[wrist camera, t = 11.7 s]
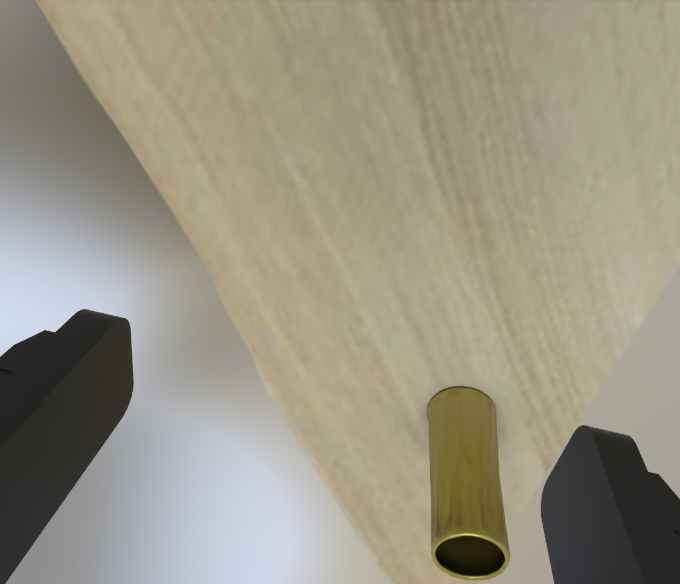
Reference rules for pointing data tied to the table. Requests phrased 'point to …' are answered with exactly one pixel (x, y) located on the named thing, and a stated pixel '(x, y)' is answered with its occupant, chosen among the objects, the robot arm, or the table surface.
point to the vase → (466, 486)
